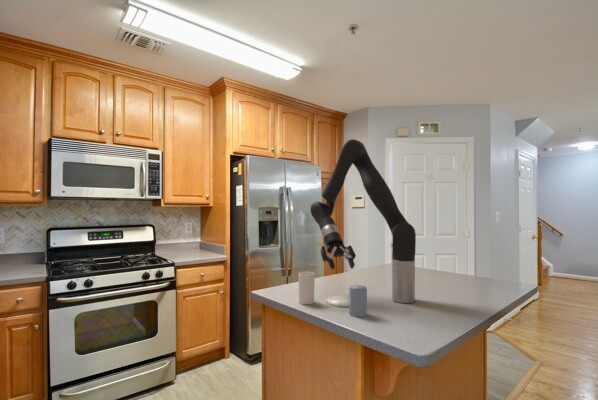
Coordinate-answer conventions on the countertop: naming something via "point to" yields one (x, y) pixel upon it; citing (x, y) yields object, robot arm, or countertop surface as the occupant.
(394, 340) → the countertop surface
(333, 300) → the dish
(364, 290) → the tumbler
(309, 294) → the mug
